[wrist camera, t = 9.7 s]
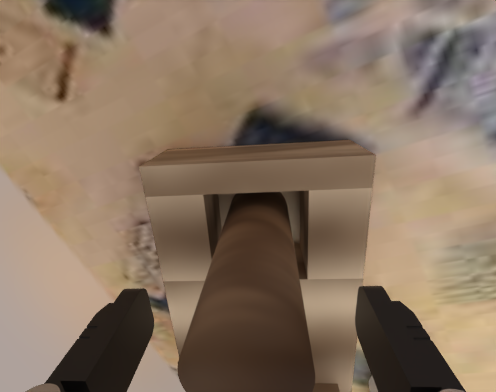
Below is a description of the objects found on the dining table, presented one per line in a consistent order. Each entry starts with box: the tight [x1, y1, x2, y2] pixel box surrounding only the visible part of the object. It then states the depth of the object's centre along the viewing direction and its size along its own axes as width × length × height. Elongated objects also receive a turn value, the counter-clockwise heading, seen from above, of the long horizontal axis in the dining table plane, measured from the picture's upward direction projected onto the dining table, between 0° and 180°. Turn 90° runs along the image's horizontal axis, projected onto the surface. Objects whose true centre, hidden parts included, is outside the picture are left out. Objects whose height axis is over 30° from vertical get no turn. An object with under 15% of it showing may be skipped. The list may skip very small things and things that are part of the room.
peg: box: [178, 192, 315, 392], centre depth 14 cm, size 4×4×12 cm
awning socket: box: [139, 140, 376, 392], centre depth 14 cm, size 18×13×16 cm
